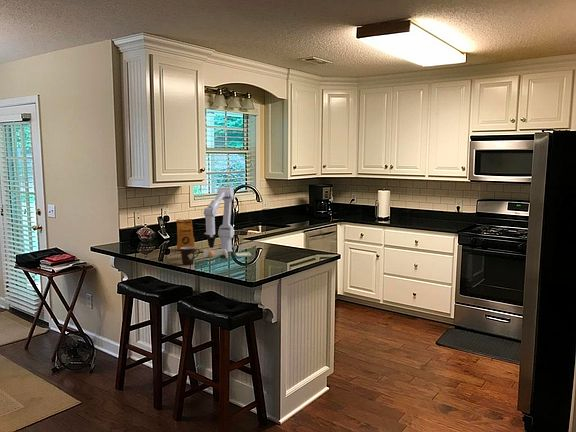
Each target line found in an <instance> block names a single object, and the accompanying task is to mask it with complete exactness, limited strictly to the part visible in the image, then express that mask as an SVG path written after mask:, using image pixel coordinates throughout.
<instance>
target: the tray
mask: <svg viewBox="0 0 576 432" xmlns="http://www.w3.org/2000/svg"><path fill="white" fill-rule="evenodd" d="M235 256H236V257H237V258H240V257H241V258H242V257H252V254H251V253H250V251H248V252H235Z"/></svg>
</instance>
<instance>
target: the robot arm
mask: <svg viewBox="0 0 576 432" xmlns="http://www.w3.org/2000/svg"><path fill="white" fill-rule="evenodd" d="M216 193H217V195H216V196H215V198H214V199H212V201H211V202H210V203H209V205H208V207H205V208H204V210H203V215H204V219H205V232H204V233H203V234H204V235H205V237H206V240H207V244H208V246H209V249H212V248H214V246H215V245H214V244H215V240H216V239H217V238H216V236H215V235H216V221H215V220H216V218H215V217H216V216H217V210H218V209H219V207H220V202H221V201H223V202H224V204H223V213H222V215H223V216H222V224H221V225H219V228H218V232H217V235H218V238H219V239H220V249H219V250H223V249H225V250H226V251H227V252H228V253H233V252H234V251H233V249H232V248H233V246H232V239H233V238H234V235H235V229H234V227H233V226H232V224H231V216H232V214H231V213H232V205H233V204H232V202H233V200H234V195H235V191H234V188H233V187H220V186H219V187H218V188H217V192H216Z"/></svg>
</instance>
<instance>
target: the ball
mask: <svg viewBox="0 0 576 432" xmlns="http://www.w3.org/2000/svg"><path fill="white" fill-rule="evenodd" d="M214 256H215V255H214V252H213V251H210V252H209V253H208V257H210V258H213V257H214Z"/></svg>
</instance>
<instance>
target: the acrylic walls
mask: <svg viewBox="0 0 576 432" xmlns="http://www.w3.org/2000/svg"><path fill="white" fill-rule="evenodd" d="M210 251H213V252H214V256H225V258H226V259H228V258H229V255H228V254H229V252H227V251H226V250H225V249H223V250H220V249H211V250H210V249H209V250H207V249H206V250H205V249H204V250H203V257H207V256H208V253H209V252H210ZM208 257H209V256H208Z"/></svg>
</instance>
